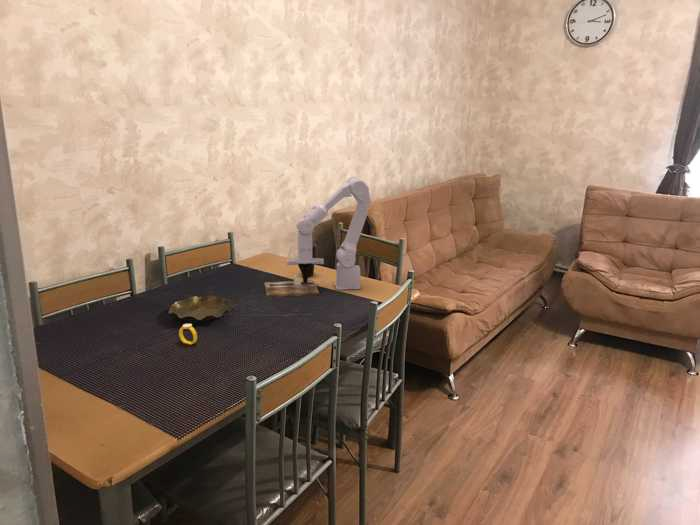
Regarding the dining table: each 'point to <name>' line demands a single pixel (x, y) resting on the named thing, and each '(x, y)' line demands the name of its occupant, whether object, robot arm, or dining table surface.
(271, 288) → the console
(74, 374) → the dining table surface
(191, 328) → the gold ring
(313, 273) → the drinking cup
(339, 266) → the robot arm
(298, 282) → the fader tab
